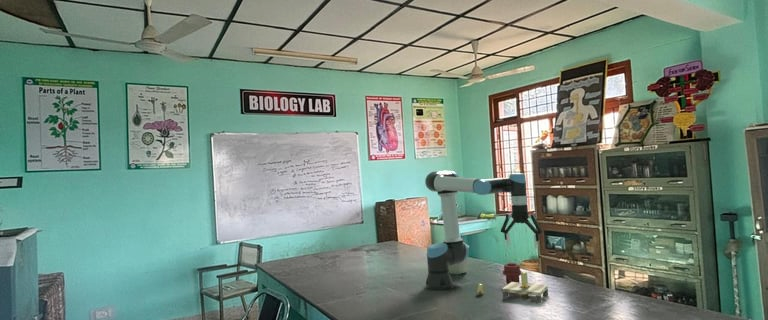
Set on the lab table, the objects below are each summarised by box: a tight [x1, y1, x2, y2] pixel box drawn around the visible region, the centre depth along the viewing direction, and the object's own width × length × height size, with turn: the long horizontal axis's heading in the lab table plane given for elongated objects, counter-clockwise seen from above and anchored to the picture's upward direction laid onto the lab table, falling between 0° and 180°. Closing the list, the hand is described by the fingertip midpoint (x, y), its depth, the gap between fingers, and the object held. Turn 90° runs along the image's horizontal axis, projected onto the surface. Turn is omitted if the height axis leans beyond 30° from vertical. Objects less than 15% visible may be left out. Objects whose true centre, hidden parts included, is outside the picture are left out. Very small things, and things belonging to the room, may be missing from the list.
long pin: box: [520, 271, 530, 299], centre depth 211 cm, size 3×3×12 cm
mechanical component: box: [502, 262, 523, 286], centre depth 232 cm, size 12×10×10 cm
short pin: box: [476, 283, 484, 296], centre depth 220 cm, size 3×3×5 cm
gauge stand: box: [501, 282, 549, 304], centre depth 211 cm, size 18×14×5 cm
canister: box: [449, 243, 470, 275], centre depth 270 cm, size 18×18×21 cm
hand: (522, 247), depth 212 cm, fingers open, 13 cm apart
